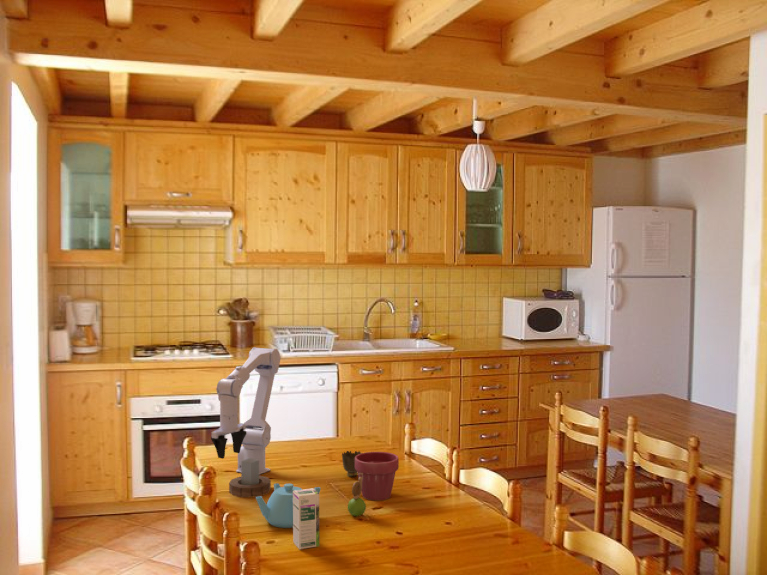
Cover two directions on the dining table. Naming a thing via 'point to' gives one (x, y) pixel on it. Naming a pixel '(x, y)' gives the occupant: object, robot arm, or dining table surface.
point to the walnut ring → (250, 487)
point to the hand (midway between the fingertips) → (229, 455)
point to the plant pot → (377, 473)
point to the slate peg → (250, 472)
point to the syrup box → (306, 518)
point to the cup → (350, 463)
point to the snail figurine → (357, 499)
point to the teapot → (280, 505)
